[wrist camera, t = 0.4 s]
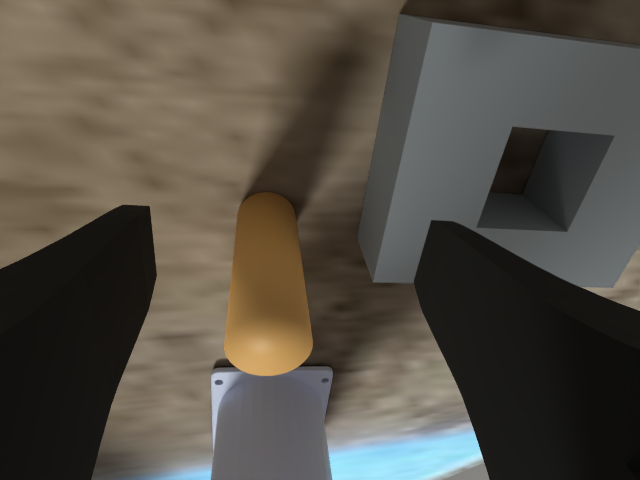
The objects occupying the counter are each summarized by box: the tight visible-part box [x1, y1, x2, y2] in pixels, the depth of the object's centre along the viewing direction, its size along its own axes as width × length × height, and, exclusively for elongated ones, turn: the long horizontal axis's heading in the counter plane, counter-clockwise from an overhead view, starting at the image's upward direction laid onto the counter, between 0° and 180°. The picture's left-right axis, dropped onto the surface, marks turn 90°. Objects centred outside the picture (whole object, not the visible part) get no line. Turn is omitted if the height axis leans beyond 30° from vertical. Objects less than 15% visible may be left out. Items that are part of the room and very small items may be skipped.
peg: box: [224, 192, 313, 376], centre depth 18 cm, size 3×3×9 cm
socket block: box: [357, 14, 640, 288], centre depth 20 cm, size 11×13×4 cm
